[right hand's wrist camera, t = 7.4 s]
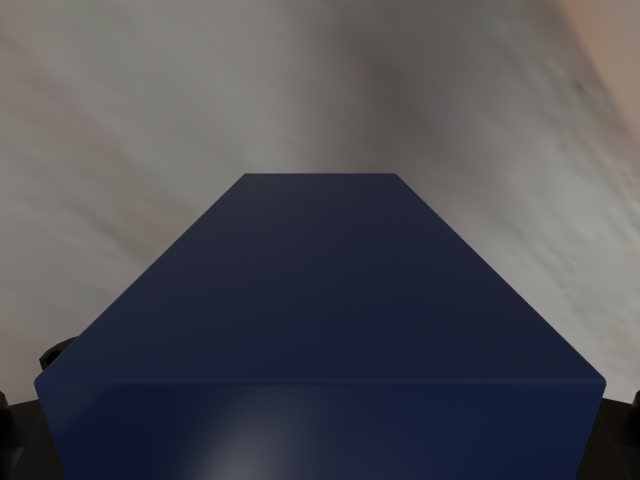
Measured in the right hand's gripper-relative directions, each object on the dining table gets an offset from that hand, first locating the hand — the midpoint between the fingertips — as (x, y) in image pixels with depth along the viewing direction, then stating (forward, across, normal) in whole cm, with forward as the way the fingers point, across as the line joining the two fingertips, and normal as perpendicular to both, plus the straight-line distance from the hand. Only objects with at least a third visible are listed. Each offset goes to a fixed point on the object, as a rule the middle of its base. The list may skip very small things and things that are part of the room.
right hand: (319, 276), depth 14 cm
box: (+3, 0, -7) cm, 7 cm away
